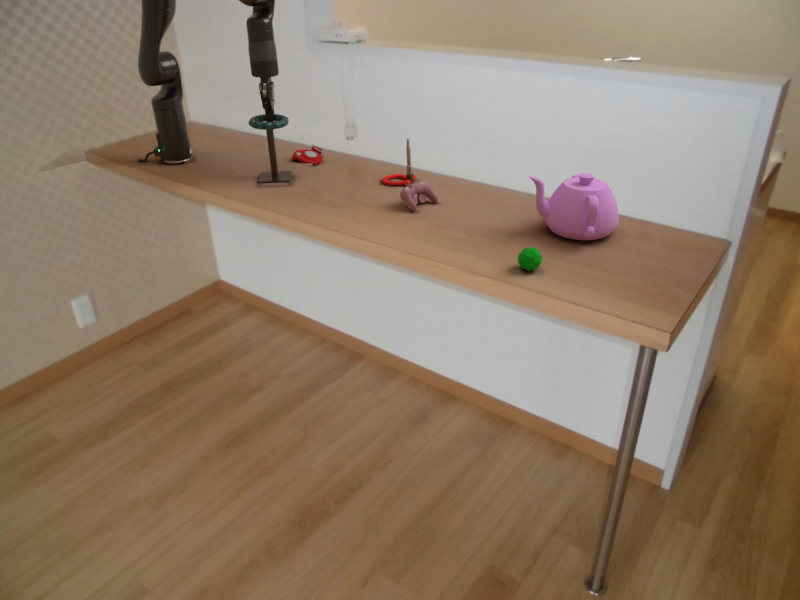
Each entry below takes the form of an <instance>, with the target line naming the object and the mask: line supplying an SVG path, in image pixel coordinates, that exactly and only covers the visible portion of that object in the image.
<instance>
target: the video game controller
mask: <svg viewBox="0 0 800 600" xmlns="http://www.w3.org/2000/svg"><path fill="white" fill-rule="evenodd" d="M415 195H417V196H416V197H415ZM399 196H400V199H401V201H403V203H404V204H405V206H406V208H407V209H408V210H409V211H411V212H414V213H415V212H416V211H417V205H418V204H424V203H425V202H426V200H427V199H428V200H429V201H430V202H431V203H434V204H437V203H438V202H439V198H438V196H437V194H436V193H435V191H433V189H432V188H431V186H430V185H429V184H428V183H426V182H425V181H424V182H421V181H420V182H419V181H417V182H412V183H411V184H409V185H408V186H404V188H403V189H401V191H400V193H399ZM426 198H427V199H426Z"/></svg>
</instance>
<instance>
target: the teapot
mask: <svg viewBox="0 0 800 600" xmlns="http://www.w3.org/2000/svg"><path fill="white" fill-rule="evenodd" d="M528 178H529V179H531V181H532V182H533V184H534V185H535V188H536V189H535V191H536V193H535V207H536V210H537V212H538V213H539V215H540V216H541V217H542V218H543V220H544V223H545V225H546V226H547V227H548V228H549V229H550V231H551V232H552V233H554V234H555V235H558V236H560V237H562V238H565V239H570V240H576V241H595V240H601V239H604V238H605V237H607V236H608V235H610V234H611V233H613V232H614V231H615V230H616V229H617V227H618V226H619V221H620V212H619V206H618V203H617V200H616V198H615V196H614V193H613V191H612V189H611V188H610V186H609V184H608V183H607V182H606V181H604V180H601V179H598V178H595V174H593V173H589V172H582V173H579V174H573V175H572V176H571V177H570V178H569V177H568V178H566V179H564V180H563V181H562V182H561V183H560V184H559V186H558V187H556V189H555V190H554V192H552V194H551V196H550V197H549V199H548V200H547V199H546V197H545V184H544V182H543V180H542V179H541V178H539V177H535V176H532V175H528Z"/></svg>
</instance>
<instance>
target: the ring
mask: <svg viewBox="0 0 800 600" xmlns="http://www.w3.org/2000/svg"><path fill="white" fill-rule="evenodd" d="M273 115H274V122H266V116H265V113H264V114H257V115H254V116H252V117H250V118H249V120H248V125H249V127H251V128H253V129H255V130H261V131H263V130H264V131H266V130H272V129H273V130H278V129H282V128H284V127H287V126H288V125H289V121H290V119H289V117H287V116H286V115H284V114H278V113H274V114H273Z"/></svg>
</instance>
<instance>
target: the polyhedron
mask: <svg viewBox="0 0 800 600" xmlns="http://www.w3.org/2000/svg"><path fill="white" fill-rule="evenodd" d="M517 262H518V265H519V266H520V268H521V269H523V270H525V271H527V272H530V271H531V272H532V271H534V270H537V269H539V267H540V266H541V265H542V263H543V255H542V253H541V252H540V249H537V248H536V247H533V246H528V247H525V248H523V249H521V251H520V252H519V253H518V255H517Z"/></svg>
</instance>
